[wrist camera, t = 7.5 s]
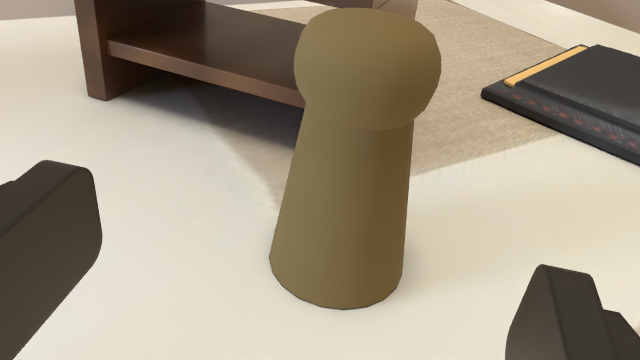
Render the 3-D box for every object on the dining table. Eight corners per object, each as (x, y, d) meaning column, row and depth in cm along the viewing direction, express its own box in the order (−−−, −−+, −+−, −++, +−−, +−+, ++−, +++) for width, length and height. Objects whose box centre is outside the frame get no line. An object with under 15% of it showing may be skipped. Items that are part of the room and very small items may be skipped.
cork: (364, 332, 21) (424, 64, 15) (241, 267, 23) (248, 12, 17) (422, 250, 25) (486, 20, 19) (314, 203, 28) (340, -17, 21)
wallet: (694, 158, 32) (478, 71, 41) (679, 184, 33) (472, 94, 42) (762, 87, 44) (585, 32, 53) (749, 108, 46) (578, 50, 54)
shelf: (87, 95, 35) (61, -81, 29) (190, 44, 44) (186, -96, 39) (345, 173, 30) (375, -18, 24) (398, 97, 40) (429, -53, 34)
